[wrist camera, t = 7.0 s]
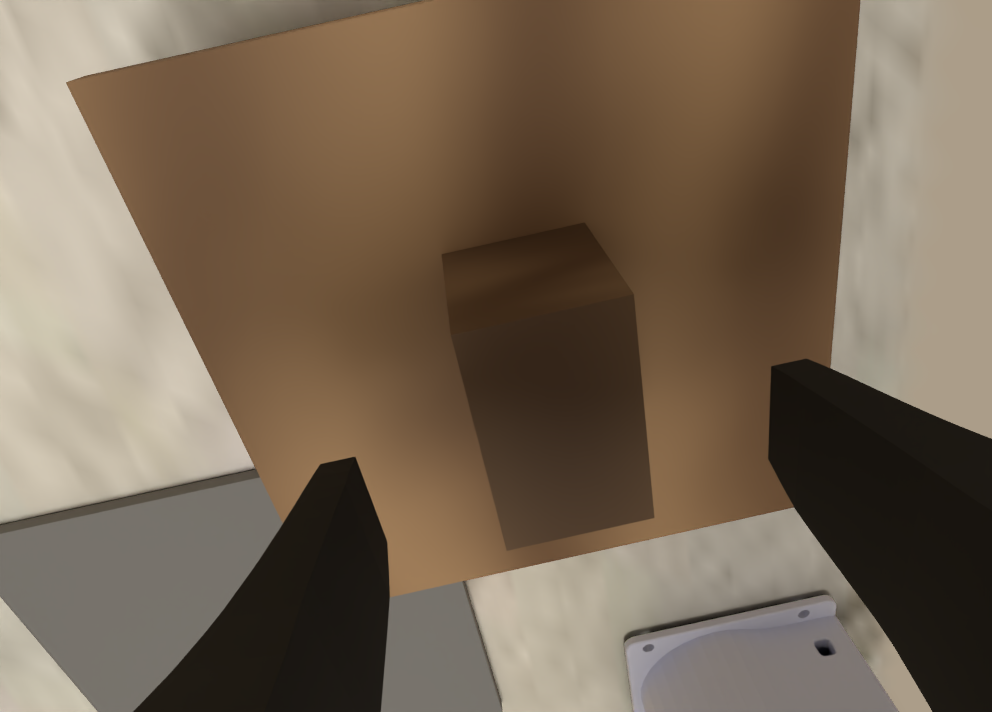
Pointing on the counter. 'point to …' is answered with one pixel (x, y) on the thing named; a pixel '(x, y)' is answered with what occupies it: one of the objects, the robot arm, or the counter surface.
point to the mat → (202, 596)
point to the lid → (502, 255)
